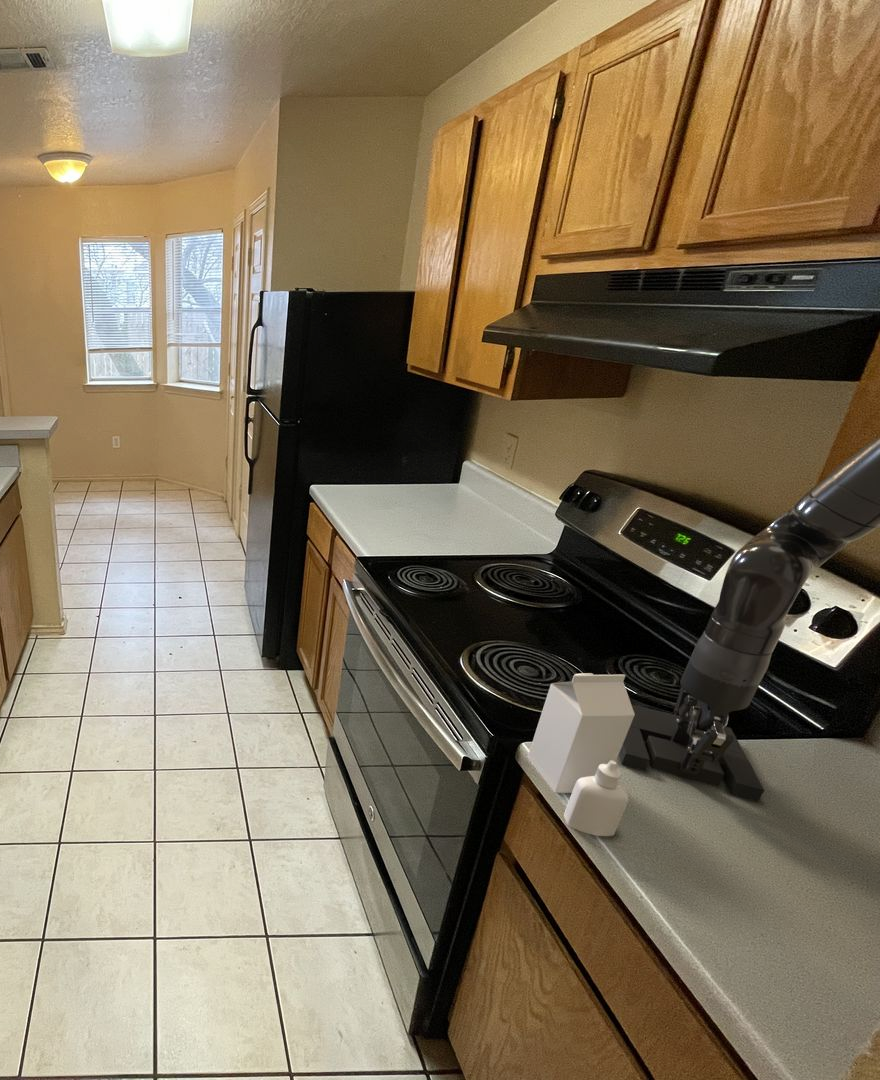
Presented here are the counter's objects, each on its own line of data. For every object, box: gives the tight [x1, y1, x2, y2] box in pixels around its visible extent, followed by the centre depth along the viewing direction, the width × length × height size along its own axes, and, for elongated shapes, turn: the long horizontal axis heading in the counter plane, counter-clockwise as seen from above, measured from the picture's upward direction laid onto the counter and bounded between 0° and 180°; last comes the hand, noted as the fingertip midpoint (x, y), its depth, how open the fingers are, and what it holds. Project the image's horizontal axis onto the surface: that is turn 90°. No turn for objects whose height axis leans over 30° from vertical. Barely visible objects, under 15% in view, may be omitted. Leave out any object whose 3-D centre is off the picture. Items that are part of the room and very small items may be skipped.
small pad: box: [644, 736, 724, 786], centre depth 90 cm, size 8×5×3 cm, turn 63°
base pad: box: [618, 703, 765, 802], centre depth 92 cm, size 16×14×3 cm
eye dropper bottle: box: [563, 760, 629, 837], centre depth 78 cm, size 4×6×12 cm
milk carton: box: [527, 672, 635, 794], centre depth 85 cm, size 7×7×19 cm
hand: (682, 759), depth 90 cm, fingers closed on small pad, 5 cm apart
